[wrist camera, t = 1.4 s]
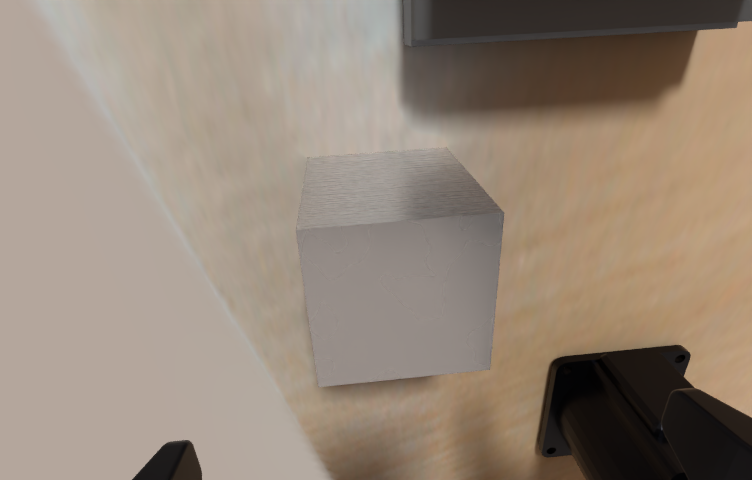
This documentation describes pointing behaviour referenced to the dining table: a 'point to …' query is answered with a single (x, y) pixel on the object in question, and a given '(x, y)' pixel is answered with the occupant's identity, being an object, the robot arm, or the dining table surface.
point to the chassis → (560, 18)
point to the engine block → (397, 265)
